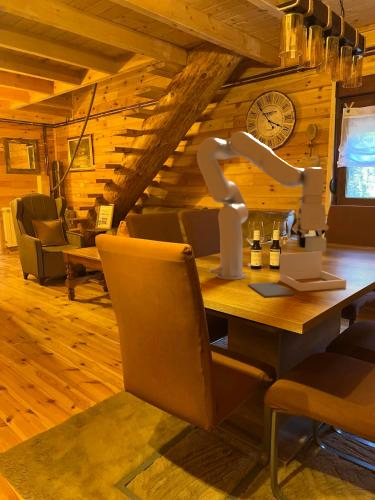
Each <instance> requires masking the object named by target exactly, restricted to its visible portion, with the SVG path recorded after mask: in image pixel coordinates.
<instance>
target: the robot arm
mask: <svg viewBox="0 0 375 500" xmlns="http://www.w3.org/2000/svg"><path fill="white" fill-rule="evenodd" d="M237 157H242V158H244V159H245V160H246V161H248V162H250V163H251V164H252V165H254V166H255V167H256V168H258V169H259V170H260V171H263V173H265V174H266V175H267V176H268V177H270V178H271V179H273V180H274V181H275V182H278V184H281V185H282V186H284V187H285V188H298V187H302V189H301V191H302V192H301V197H299V198H298V202H301V203H300V204H299V207H298V213H297V218H296V223H295V224H294V225H293V226H292V228H291V230H292V231H293V232H294V233H295V234H296V235H298V237H299V245H300V247H302V248H305V238H304V236H305V234H307V231H314V233H315V234H314V235H316V236H320V237H323V235H324V234H325V233H326V232H327V231H328V230H329V229H330V226H329V225H328V224H327V218H326V217H327V216H326V215H327V213H326V207H325V204H324V203H323V196H324V195H323V194H324V178H325V170H324V168H322V167H316V166H315V167H313V166H312V167H305V168H300V167H296V166H295V167H294V166H292V165H290V164H289V163H288V162H286V161H284V160H283V159H281V158H280V157H278V156H277V155H276V154H275V153H274V151H273V150H272V149H271V148H270V147H268V146H267V145H266V144H264V143H262V142H260V141H259V140H258V139H256V138H255V137H254V136H253V135H252V134H250V133H248V132H245V131H240V130H239V131H236V132H234V133H233V134H232V135H231V137H229V138H225V139H222V138H218V137H206V138H205V139H204V140H203V141H202V142H201V143H200V144H199V146H198V149H197V152H196V162H197V165H198V169H199V171H200V173H201V175H202V177H203V179H204V182H205V184H206V187H207V189H208V192H209V193H210V196H211V198H212V200H213V201H214V202H215V203H218V204H220V203H221V204H222V205H223V206H222V207H221V208H220V210H219V212H218V216H217V220H218V226H219V244H220V245H219V247H220V248H219V249H220V250H219V251H220V253H219V256H220V265H218V267H216V268H209V273H210V274H215V275H216V278H218V279H220V280H224V281H225V280H226V281H227V280H228V281H236V280H237V281H238V280H243V279H245V278H246V277H247V274H246V273H245V272H243V228H242V224H243V223H245V222H246V221H247V219H248V218H249V209H248V207H247V204H246V202H245V199H244V198H243V195H242V192H241V190H240V189H239V187H238V185H237V184H236V183H235V182H234V181H231V180H227V178H226V176H225V174H224V171H223V169H222V166H221V165H220V164H219V162H218V160H219V161H220V160H227V159H232V158H237ZM302 248H301V249H302Z"/></svg>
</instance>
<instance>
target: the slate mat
mask: <svg viewBox="0 0 375 500" xmlns="http://www.w3.org/2000/svg"><path fill="white" fill-rule="evenodd" d="M247 286H248V287H249V288H251V289H252V290H253V291H255V292H257V293H258V294H259V295H261V296H263V297H264V298H276V297H277V298H278V297H279V298H280V297H288V296H289V297H290V296H295V293H294V292H292V291H291V290H289V289H287V288H286V287H284V286H282V285H280V284H279V283H276V282H275V281H271V282H258V283H249V284H247Z"/></svg>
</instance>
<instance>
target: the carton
mask: <svg viewBox="0 0 375 500" xmlns="http://www.w3.org/2000/svg"><path fill="white" fill-rule="evenodd" d="M322 264H323V252H311V251H308V252H294V253H292V252H291V253H279V282H282V283H284V284H286V285H287V286H289V287H291V288H293V289H295V290H297V291H299V292H309V291H311V292H312V291H319V290H332V289H333V290H334V289H346V288H347V279H345V278H342V277H339V276H337V275H335V274H332V273H329V272H326V271H323V270H322V269H323V268H322V266H323V265H322ZM306 279H322V280H320V281H310V282H309V281H308V282H300V281H298V280H306Z"/></svg>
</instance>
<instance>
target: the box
mask: <svg viewBox="0 0 375 500" xmlns="http://www.w3.org/2000/svg"><path fill="white" fill-rule="evenodd" d="M296 235H297V234H296ZM304 238H305V248H302V247H300V245H299V237H298V235H297V237H296V248H298V249H299V248H300V249H302V250H306V251H308V252H322V253H323V252H324V253H325V252H326V251H327V237H323V236H322V237H320V236H316V234H311V233H305V236H304Z"/></svg>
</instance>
